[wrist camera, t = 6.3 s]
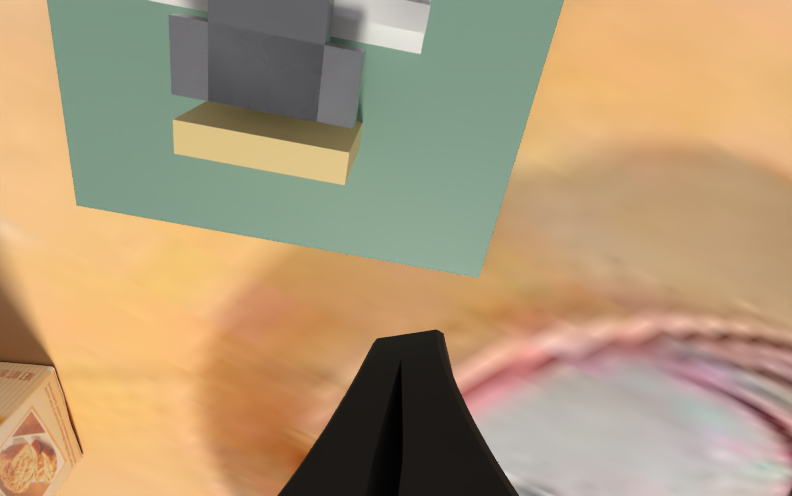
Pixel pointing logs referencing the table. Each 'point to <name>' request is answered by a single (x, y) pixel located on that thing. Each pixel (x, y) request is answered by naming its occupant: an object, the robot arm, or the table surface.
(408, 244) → the board
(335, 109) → the grey flat bar
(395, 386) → the robot arm
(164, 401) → the table surface
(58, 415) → the coffeecake box
